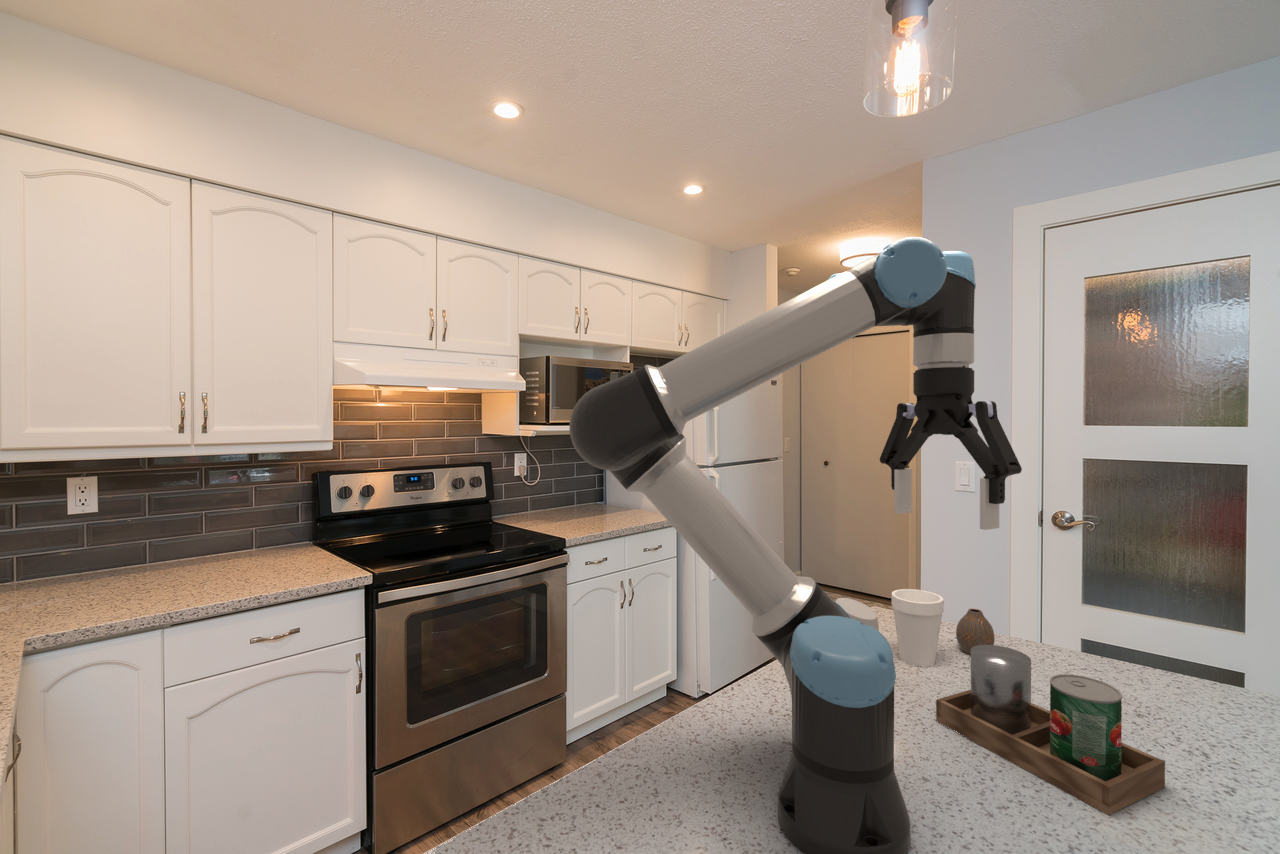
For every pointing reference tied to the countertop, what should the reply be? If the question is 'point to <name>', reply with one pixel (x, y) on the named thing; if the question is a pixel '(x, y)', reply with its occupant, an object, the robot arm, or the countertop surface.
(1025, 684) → the seated cylinder
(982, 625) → the vase
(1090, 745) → the canned tomato
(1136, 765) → the wooden divided tray
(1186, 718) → the countertop surface
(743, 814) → the countertop surface
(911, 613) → the foam cup
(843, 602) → the smart speaker
